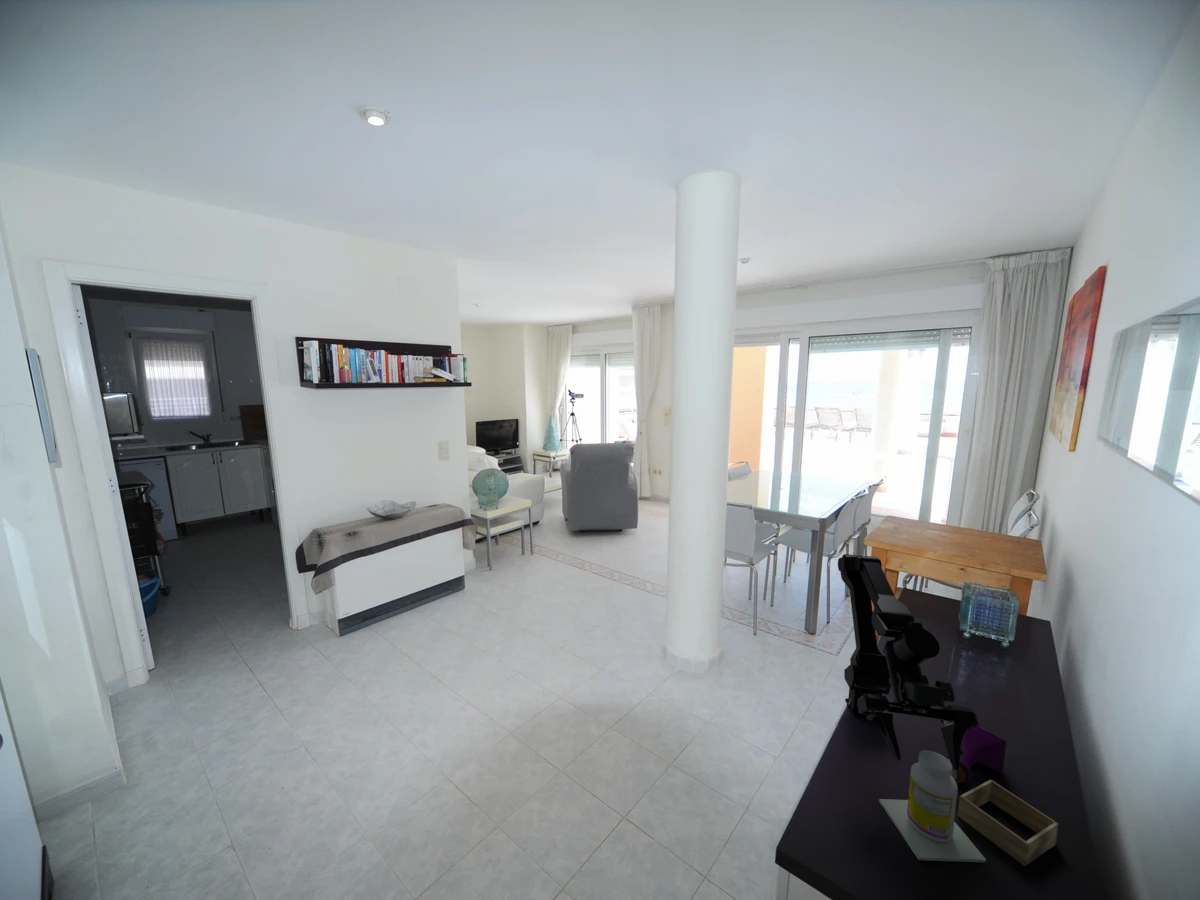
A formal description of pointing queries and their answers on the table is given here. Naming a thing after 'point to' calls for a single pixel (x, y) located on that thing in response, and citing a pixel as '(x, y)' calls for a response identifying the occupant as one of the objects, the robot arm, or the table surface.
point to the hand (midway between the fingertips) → (927, 765)
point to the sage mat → (925, 847)
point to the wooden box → (998, 832)
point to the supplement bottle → (932, 797)
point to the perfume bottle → (979, 752)
